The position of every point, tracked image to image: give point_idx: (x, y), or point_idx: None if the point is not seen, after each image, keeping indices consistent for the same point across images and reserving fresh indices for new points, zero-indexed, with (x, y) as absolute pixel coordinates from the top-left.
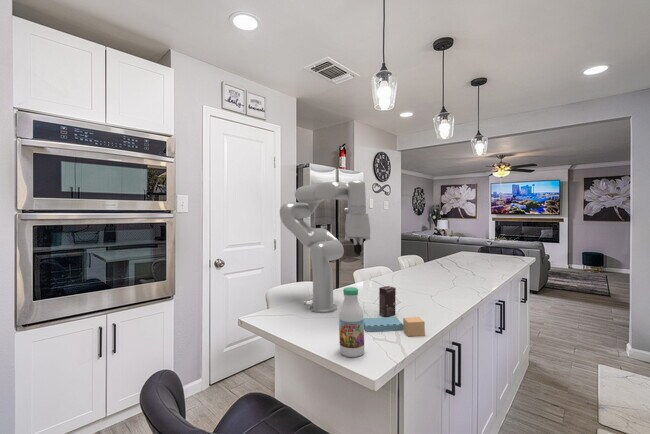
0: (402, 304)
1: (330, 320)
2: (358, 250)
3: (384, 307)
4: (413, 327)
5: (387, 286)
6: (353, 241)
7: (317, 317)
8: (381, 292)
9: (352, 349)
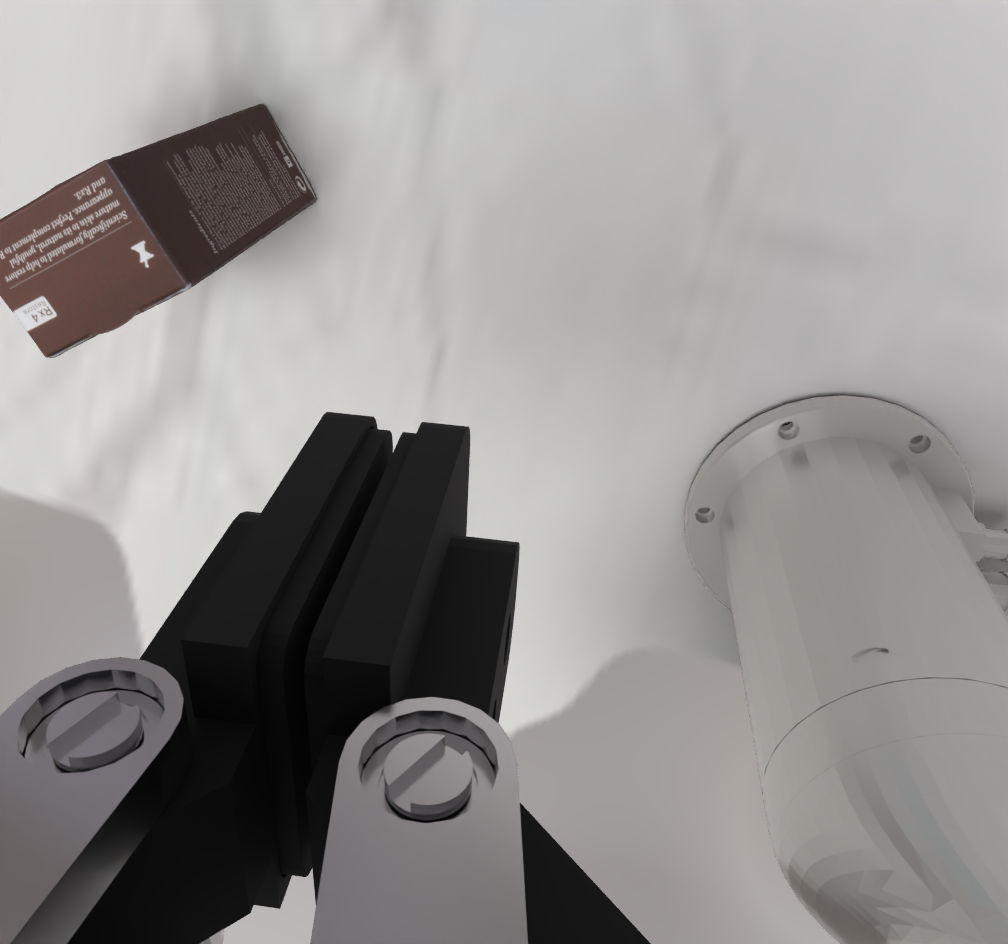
0: (42, 455)
1: (876, 150)
2: (356, 516)
3: (235, 143)
4: None
5: (68, 323)
6: (525, 914)
7: (979, 278)
8: (191, 230)
9: None
